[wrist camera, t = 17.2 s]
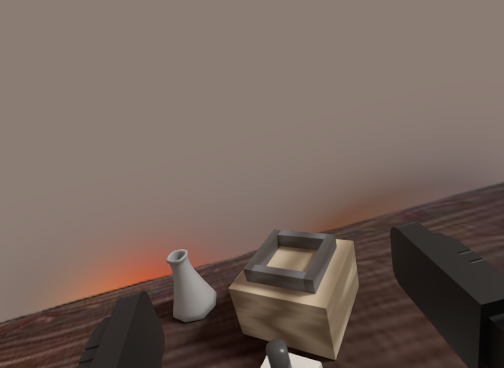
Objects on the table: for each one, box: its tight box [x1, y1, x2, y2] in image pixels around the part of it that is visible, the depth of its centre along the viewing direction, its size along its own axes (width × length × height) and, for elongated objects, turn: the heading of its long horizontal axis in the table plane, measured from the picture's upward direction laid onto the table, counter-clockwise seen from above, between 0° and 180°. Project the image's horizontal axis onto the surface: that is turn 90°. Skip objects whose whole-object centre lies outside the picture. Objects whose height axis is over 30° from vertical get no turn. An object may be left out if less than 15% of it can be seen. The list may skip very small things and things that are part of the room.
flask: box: [166, 249, 217, 322], centre depth 50 cm, size 7×7×10 cm
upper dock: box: [229, 230, 359, 360], centre depth 44 cm, size 13×13×10 cm
